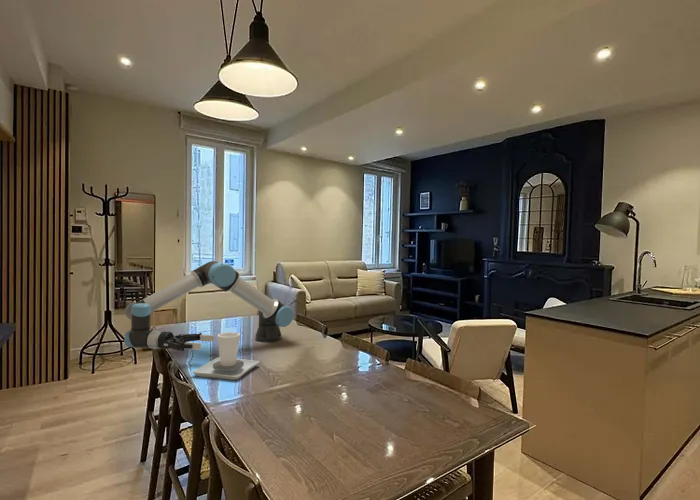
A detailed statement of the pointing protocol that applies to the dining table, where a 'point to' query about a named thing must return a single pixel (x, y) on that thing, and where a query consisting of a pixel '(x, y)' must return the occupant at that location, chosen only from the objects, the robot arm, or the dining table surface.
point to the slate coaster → (228, 368)
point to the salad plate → (230, 375)
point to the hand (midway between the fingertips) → (207, 342)
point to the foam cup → (228, 347)
